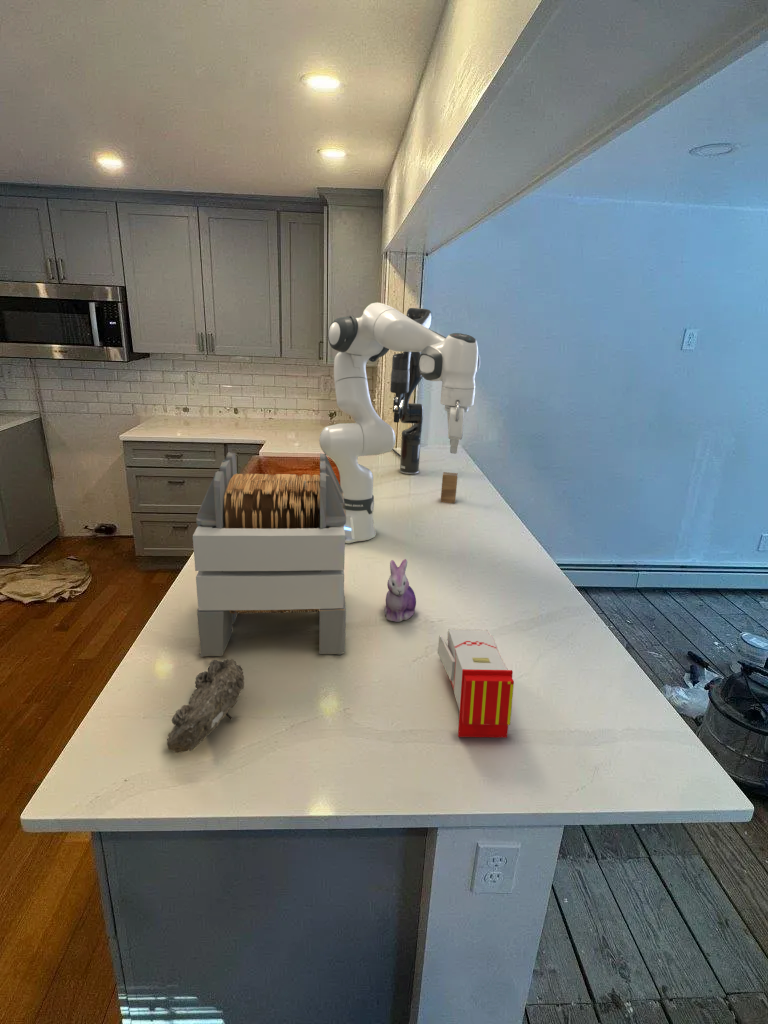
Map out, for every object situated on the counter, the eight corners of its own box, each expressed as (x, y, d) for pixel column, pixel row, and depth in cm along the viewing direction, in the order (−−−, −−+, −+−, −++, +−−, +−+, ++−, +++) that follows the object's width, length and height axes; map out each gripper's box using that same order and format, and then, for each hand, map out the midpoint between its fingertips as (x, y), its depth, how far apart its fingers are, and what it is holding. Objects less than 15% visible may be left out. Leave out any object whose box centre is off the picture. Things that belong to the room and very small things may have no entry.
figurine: (392, 627, 141) (395, 572, 136) (374, 608, 149) (376, 556, 144) (425, 619, 145) (429, 566, 140) (405, 601, 154) (408, 550, 149)
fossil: (192, 660, 117) (244, 628, 112) (224, 691, 120) (276, 661, 115) (142, 746, 98) (202, 712, 93) (182, 779, 101) (242, 748, 96)
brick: (454, 503, 234) (457, 475, 230) (440, 502, 235) (442, 474, 231) (455, 500, 238) (457, 473, 234) (441, 499, 239) (443, 472, 235)
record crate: (222, 587, 157) (213, 443, 143) (340, 586, 160) (343, 445, 147) (197, 659, 125) (183, 482, 111) (345, 655, 129) (349, 484, 115)
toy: (488, 613, 130) (523, 677, 101) (484, 667, 133) (517, 744, 104) (435, 612, 130) (455, 676, 101) (432, 666, 133) (451, 743, 103)
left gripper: (471, 404, 141) (465, 458, 145) (468, 393, 160) (463, 441, 164) (445, 403, 141) (441, 457, 146) (445, 392, 160) (441, 440, 165)
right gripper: (406, 383, 222) (404, 424, 227) (411, 379, 235) (409, 418, 240) (388, 382, 223) (386, 423, 228) (393, 377, 236) (391, 416, 241)
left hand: (453, 448), depth 155 cm, fingers open, 8 cm apart
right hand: (397, 420), depth 234 cm, fingers open, 8 cm apart
